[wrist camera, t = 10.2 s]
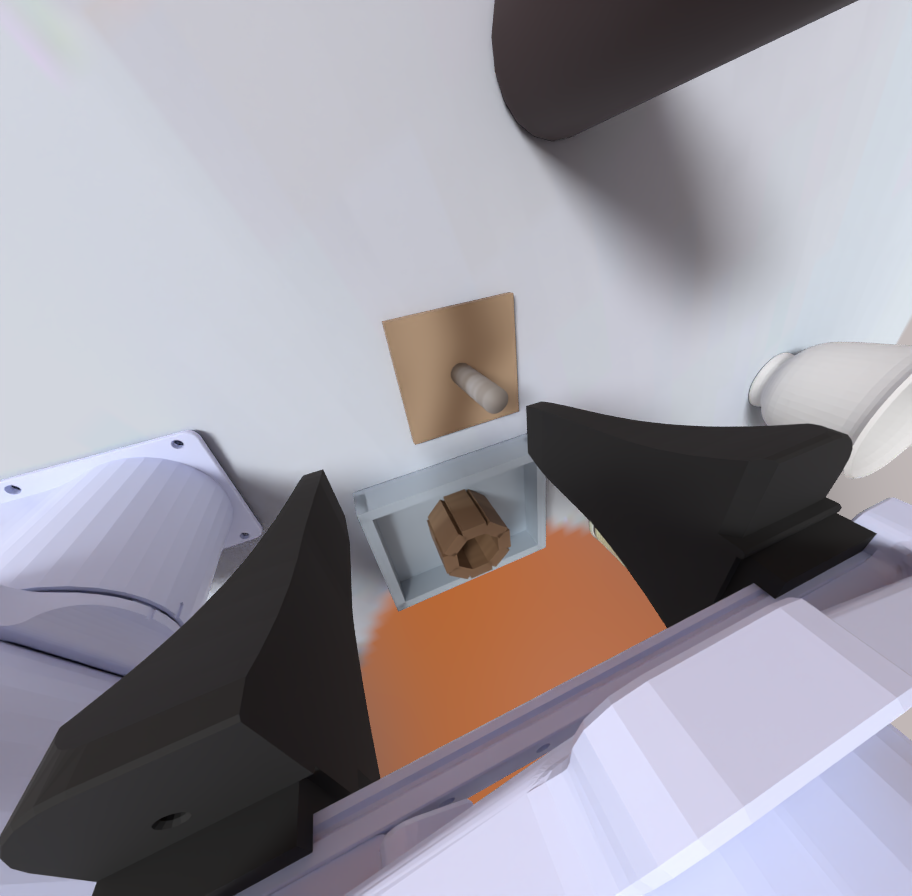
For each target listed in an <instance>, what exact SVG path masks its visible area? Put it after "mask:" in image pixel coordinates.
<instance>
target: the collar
mask: <svg viewBox="0 0 912 896" xmlns="http://www.w3.org/2000/svg"><path fill="white" fill-rule="evenodd" d="M443 498H444V501H443V500H439V501H438V503H437V504H436V506H435V507H434V508H433V510H432V511H431V513H430V514H429V516H428V519H429V520H427V523H428V526H429V530H430V533H431V537H432V539H433V541H434V544H435V546H436V548H437V551H438V553H439V556H440V558H441V560H442V563H443V565H444V568H445V570H446V572H447V574H449V576H454V577H459V578H464V579H468V578H469V577H471V579H472V578H474V577H476V576H479V575H481V574H483V573H486V572H488V571H490V570H493V568H492V566H494V567H496V566H497V565H498V564H499V563H500V561H501V560H502V559H503V558H504V556H505V555H506V554H507V553H508V551H509V547H511V541H510V530H509V529H508V527H507V526H506V525H505V523H504V522H503V520H502V519H501V518H500V516H499V515H498V513H497V512H496V511H495V509H494V508H493V506H492V505H491V504H490V502H489V501H488V499H487V498H486V497H485V495H482V494H480V493H477V492H475V491H472V490H470V489H468V490H467V491H466V490H465V489H463V490H460V491H458V492H455V493H452V494H450V495H447V496H444V497H443Z"/></svg>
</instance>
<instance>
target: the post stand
mask: <svg viewBox="0 0 912 896" xmlns="http://www.w3.org/2000/svg"><path fill="white" fill-rule="evenodd" d="M382 324H383V328H384V331H385V335H386V339H387V343H388V347H389V351H390V354H391V358H392V362H393V366H394V370H395V374H396V377H397V381H398V385H399V389H400V393H401V397H402V400H403V404H404V408H405V412H406V416H407V420H408V424H409V427H410V431H411V435H412V439H413V442H414V444H415V445H416V444H419V443H422V442H425V441H428V440H431V439H434V438H437V437H440V436H444V435H447V434H450V433H453V432H456V431H459V430H462V429H465V428H468V427H471V426H475V425H478V424H481V423H484V422H487V421H490V420H493V419H496V418H499V417H502V416H506V415H509V414H512V413H515V412H518V411H519V405H518V384H517V363H516V342H515V321H514V299H513V293H511V292H508V293H504V294H499V295H495V296H491V297H486V298H482V299H478V300H473V301H469V302H465V303H460V304H456V305H452V306H447V307H443V308H438V309H434V310H430V311H425V312H421V313H417V314H412V315H408V316H404V317H399V318H395V319H391V320H386V321H382Z"/></svg>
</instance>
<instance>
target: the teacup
mask: <svg viewBox="0 0 912 896" xmlns="http://www.w3.org/2000/svg"><path fill="white" fill-rule="evenodd" d="M749 401H750V403H751V404H752V405H753V406H759V407H761V413H762V417H763V420H764V422H765V423H766V424H767V425H768V426H772V425H789V424H806V423H809V424H816V425H821V426H824V427H827V428H830V429H833V430H836V431H839V432H842V433H845V434H848V435H849V437H850V438H851V440H852V442H853V450H852V452H851V455H850V458H849V460H848V462H847V464H846V465H845V467H844V469H843V472H844V474H845V476H846V477H847V478H849V479H854V478H862V477H865V476H867V475H870V474H872V473H873V472H875V471H877V470H879V469H880V468H882V467H883V466H885V465H886V464H887V463H889V462H890V461H892V460H893V459H894V458H895V457H897V456H898V455H899V454H900V453H901V452H903V451H904V450H905V449H906V448H909V447H912V346H910V345H894V344H878V343H862V342H830V343H823V344H818V345H815V346H812V347H809V348H807V349H805V350H803V351H802V352H800V353H798V354H797V355H793V354H791V353H781V354H779V355H777V356H775V357H774V358H772V359H771V360H770V361H769V362H768V363H767V364H765V366H764V367H763V368H762V369H761V370H760V372H759V373H758V374H757V376H756V377H755V379H754V381H753V383H752V385H751V388H750V391H749Z"/></svg>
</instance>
